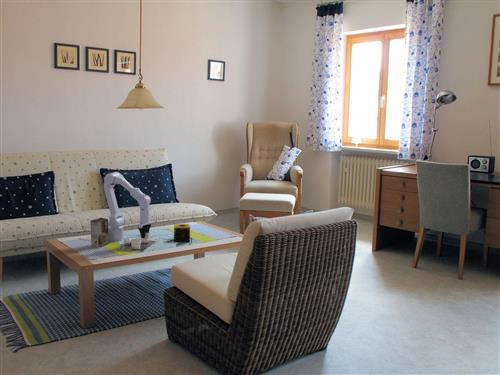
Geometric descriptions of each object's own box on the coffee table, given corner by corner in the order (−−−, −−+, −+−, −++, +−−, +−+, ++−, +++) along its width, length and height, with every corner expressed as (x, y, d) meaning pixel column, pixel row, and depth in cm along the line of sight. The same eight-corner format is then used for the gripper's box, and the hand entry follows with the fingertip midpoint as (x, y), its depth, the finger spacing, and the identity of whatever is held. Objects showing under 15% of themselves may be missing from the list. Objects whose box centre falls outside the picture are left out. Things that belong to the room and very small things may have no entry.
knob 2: (138, 242, 313) (138, 233, 312) (142, 240, 318) (141, 231, 317) (147, 243, 312) (147, 233, 311) (150, 241, 317) (150, 231, 316)
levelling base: (116, 251, 299) (116, 244, 298) (132, 241, 322) (132, 234, 321) (142, 254, 296) (142, 246, 295) (156, 243, 319) (156, 236, 319)
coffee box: (101, 242, 317) (100, 217, 315) (109, 244, 314) (108, 218, 312) (90, 245, 309) (90, 220, 307) (98, 247, 306) (97, 221, 304)
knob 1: (129, 248, 300) (129, 239, 299) (133, 246, 304) (133, 236, 303) (138, 249, 299) (138, 239, 298) (142, 247, 304) (142, 237, 303)
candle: (174, 242, 322) (174, 227, 320) (173, 238, 332) (173, 223, 330) (190, 242, 324) (190, 227, 322) (189, 238, 334) (189, 223, 332)
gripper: (146, 218, 305) (146, 240, 307) (154, 213, 319) (154, 234, 321) (135, 217, 306) (135, 239, 308) (144, 212, 320) (144, 233, 322)
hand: (144, 236), depth 315 cm, fingers open, 5 cm apart
